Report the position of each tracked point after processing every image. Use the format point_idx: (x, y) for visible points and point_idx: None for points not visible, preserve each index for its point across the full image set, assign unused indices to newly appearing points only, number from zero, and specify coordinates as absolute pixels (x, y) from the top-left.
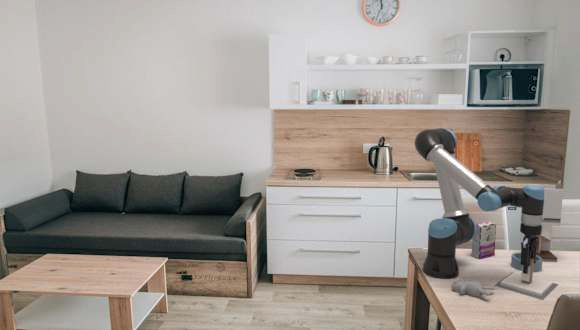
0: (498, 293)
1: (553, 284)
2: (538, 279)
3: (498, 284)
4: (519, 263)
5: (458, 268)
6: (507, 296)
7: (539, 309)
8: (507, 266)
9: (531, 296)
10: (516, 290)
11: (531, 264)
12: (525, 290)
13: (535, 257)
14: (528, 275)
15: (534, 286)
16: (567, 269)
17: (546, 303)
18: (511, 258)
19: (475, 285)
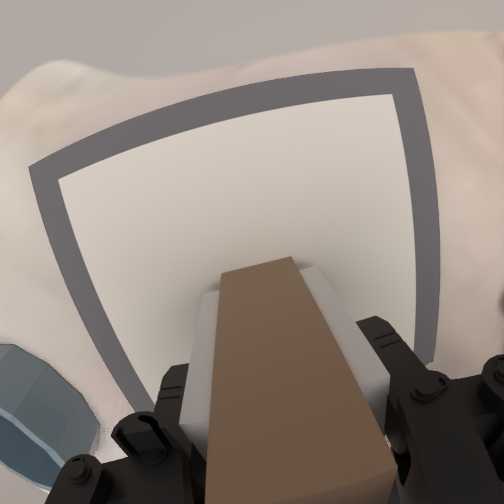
0: (477, 294)
1: (57, 181)
2: (112, 277)
3: None
4: (77, 450)
5: (392, 490)
6: (482, 247)
7: (483, 61)
8: (102, 456)
9: (427, 143)
10: (416, 259)
11: (330, 407)
12: (406, 211)
13: (71, 491)
14: (335, 301)
15: (296, 203)
16: None
17: (401, 48)
18: None
19: None
